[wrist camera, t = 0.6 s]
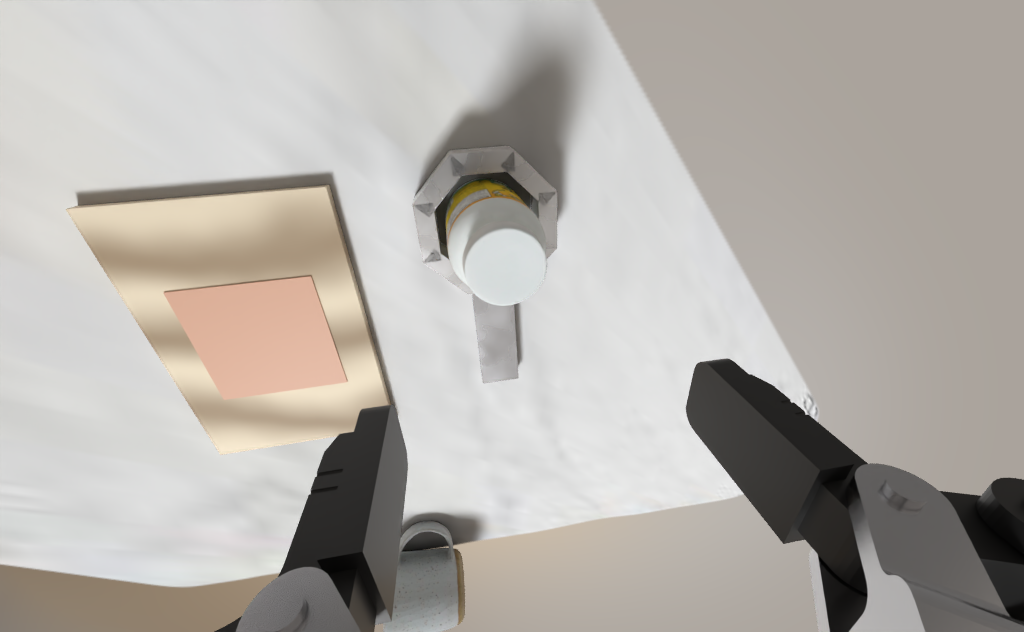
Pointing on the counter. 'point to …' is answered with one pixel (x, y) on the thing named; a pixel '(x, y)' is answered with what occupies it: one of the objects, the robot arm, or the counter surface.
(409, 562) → the ceramic mug
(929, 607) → the robot arm
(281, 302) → the birch board
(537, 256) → the supplement bottle
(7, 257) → the counter surface
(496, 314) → the ring
